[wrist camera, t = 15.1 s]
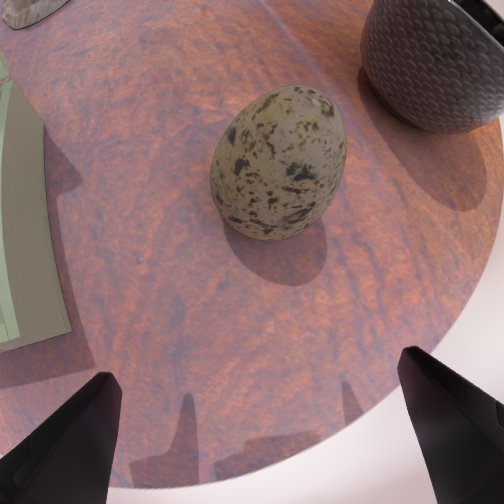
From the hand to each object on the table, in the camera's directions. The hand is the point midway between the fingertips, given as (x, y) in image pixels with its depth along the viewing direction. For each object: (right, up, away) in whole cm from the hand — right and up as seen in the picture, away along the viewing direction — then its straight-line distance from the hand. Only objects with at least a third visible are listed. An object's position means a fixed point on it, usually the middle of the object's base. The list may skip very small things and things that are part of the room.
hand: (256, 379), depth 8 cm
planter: (+14, +18, +15) cm, 27 cm away
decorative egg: (0, +6, +10) cm, 12 cm away
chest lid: (-20, +15, -6) cm, 26 cm away
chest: (-19, +4, +7) cm, 21 cm away
